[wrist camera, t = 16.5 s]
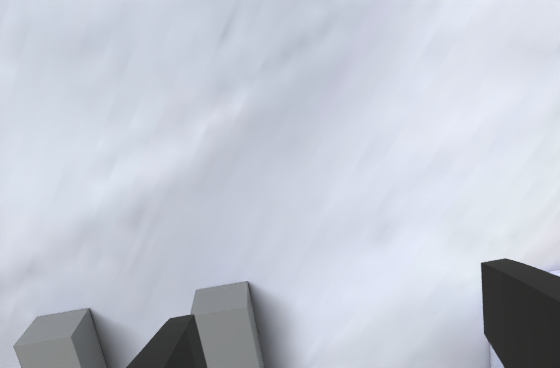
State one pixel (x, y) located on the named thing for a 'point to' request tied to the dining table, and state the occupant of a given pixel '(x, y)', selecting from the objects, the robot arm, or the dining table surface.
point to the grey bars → (206, 308)
